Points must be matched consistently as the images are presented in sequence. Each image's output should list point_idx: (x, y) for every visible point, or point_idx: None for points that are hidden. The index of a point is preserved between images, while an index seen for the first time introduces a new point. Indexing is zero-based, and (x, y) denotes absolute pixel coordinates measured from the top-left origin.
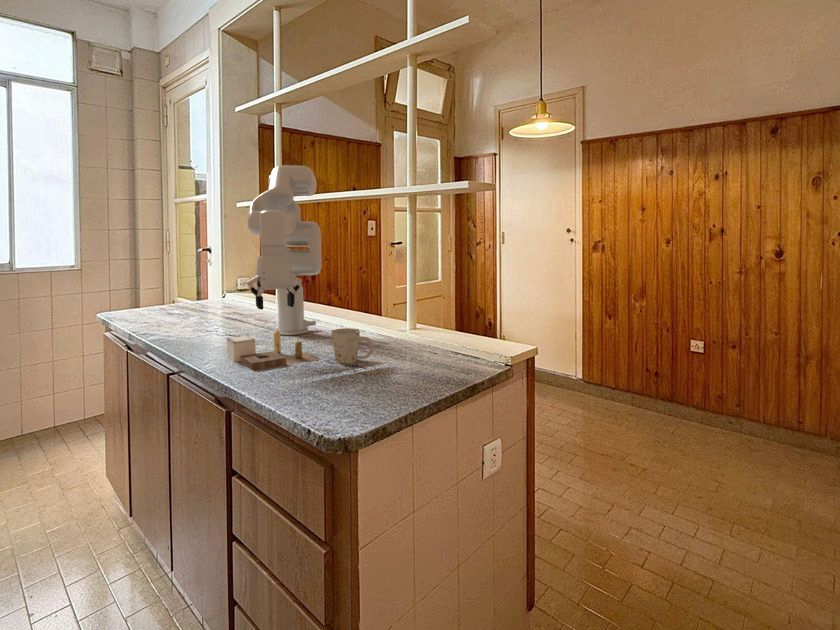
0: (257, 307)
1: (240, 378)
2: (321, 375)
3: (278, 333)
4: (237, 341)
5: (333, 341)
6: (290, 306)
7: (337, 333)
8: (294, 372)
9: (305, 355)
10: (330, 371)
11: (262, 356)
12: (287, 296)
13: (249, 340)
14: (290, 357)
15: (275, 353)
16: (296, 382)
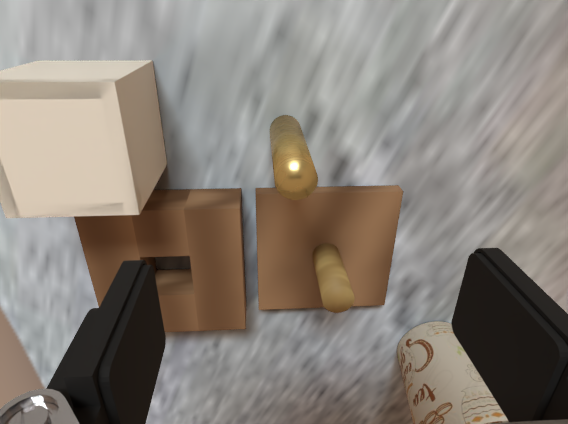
0: (123, 263)
1: (72, 331)
2: (299, 401)
3: (297, 195)
4: (31, 216)
5: (417, 420)
6: (454, 313)
7: (480, 407)
8: (247, 350)
9: (368, 233)
10: (341, 384)
11: (171, 253)
12: (534, 331)
13: (106, 214)
14: (302, 230)
15: (233, 252)
16: (215, 419)
